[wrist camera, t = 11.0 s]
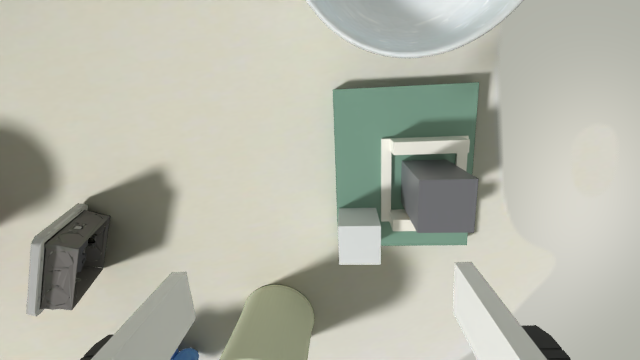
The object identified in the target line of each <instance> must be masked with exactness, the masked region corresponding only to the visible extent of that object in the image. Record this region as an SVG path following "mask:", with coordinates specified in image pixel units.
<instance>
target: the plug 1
mask: <svg viewBox="0 0 640 360" xmlns="http://www.w3.org/2000/svg"><path fill="white" fill-rule="evenodd" d="M338 245H339V265H381V224H380V221H379V217H378V214H377V210H376V208H339V215H338Z"/></svg>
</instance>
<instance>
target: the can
mask: <svg viewBox="0 0 640 360" xmlns="http://www.w3.org/2000/svg"><path fill="white" fill-rule="evenodd" d="M313 326H314V312H313V309H312V306H311V304H310V303H309V301H308V300H307V299H306V298H305V296H303V295H302V294H301V293H300V292H298V291H297V290H295V289H293V288H290V287H288V286H283V285H268V286H264V287H261V288H259V289H257V290H256V291H254V292H253V293H252V294H251V295H250V296H249V297H248V299H247V300H246V302H245V304H244V308H243V311H242V314H241V316H240V318H239V320H238V322H237V324H236V326H235V328H234V331H233V333H232V335H231V337H230V339H229V341H228V343H227V345H226V347H225V349H224V351H223V353H222V355H221V357H220V359H219V360H307V358H308V351H309V345H310V338H311V332H312V329H313Z"/></svg>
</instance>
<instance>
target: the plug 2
mask: <svg viewBox="0 0 640 360" xmlns="http://www.w3.org/2000/svg"><path fill="white" fill-rule="evenodd" d="M477 190H478V178H476V177H474V176H473V175H471V174H470V173H468V172H466V171H465V170H463V169H461V168H460V167H458V166H456V165H455V164H453V163H452V162H450V161H448V160H447V159H444V160H409V161H402V172H401V203H402V205H403V207H404V209H405V211H406V213H407V214H408V216H409V218H410V220H411V222H412V224H413V226H414V228H415V230H416V231H417V233H474V226H475V214H476V202H477Z"/></svg>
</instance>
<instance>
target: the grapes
mask: <svg viewBox="0 0 640 360" xmlns="http://www.w3.org/2000/svg"><path fill="white" fill-rule="evenodd" d="M198 358H199V354H198V352H197V350H195V349H193V348H186V349H183V350H181V351H180V352H179V350H178V348H177V349H176V351H175V353H174V354H173V356H172V357H171V359H170V360H198Z"/></svg>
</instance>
